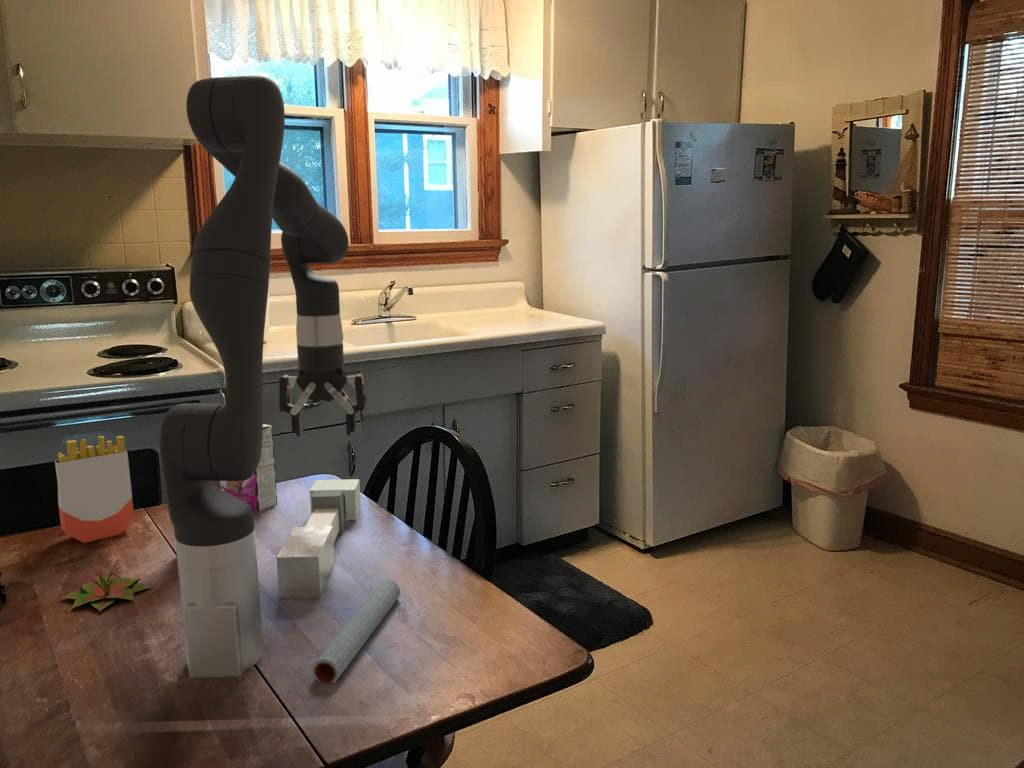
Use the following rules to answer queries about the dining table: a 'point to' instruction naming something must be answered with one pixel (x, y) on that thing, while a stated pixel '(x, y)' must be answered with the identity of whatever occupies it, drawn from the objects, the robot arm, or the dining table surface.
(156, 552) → the dining table surface
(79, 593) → the lily flower
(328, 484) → the socket block
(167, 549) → the dining table surface
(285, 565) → the cream rectangular block
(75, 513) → the french fries container
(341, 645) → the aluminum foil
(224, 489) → the candy bar box
